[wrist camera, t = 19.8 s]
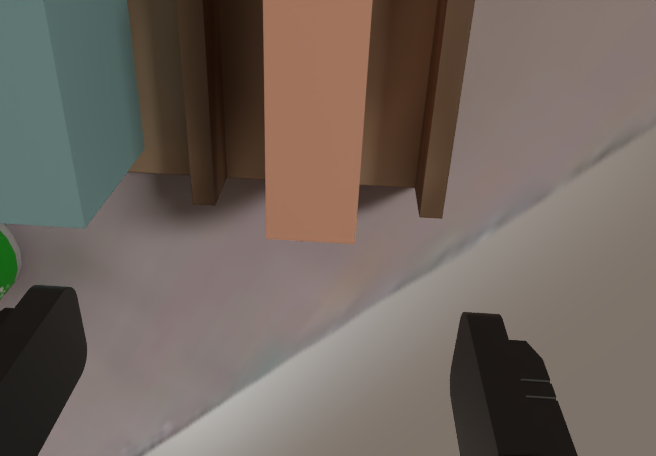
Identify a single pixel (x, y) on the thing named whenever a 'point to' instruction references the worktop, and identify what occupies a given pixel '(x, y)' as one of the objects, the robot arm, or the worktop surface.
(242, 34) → the book rack
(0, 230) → the soda can
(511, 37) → the worktop surface
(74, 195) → the teal book
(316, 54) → the rust book
